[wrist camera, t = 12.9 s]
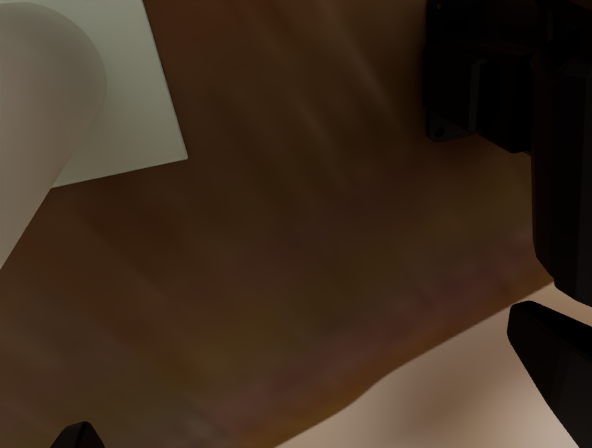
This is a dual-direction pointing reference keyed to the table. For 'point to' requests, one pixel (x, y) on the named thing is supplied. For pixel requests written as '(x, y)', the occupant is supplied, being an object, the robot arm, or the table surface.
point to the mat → (122, 93)
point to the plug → (40, 107)
